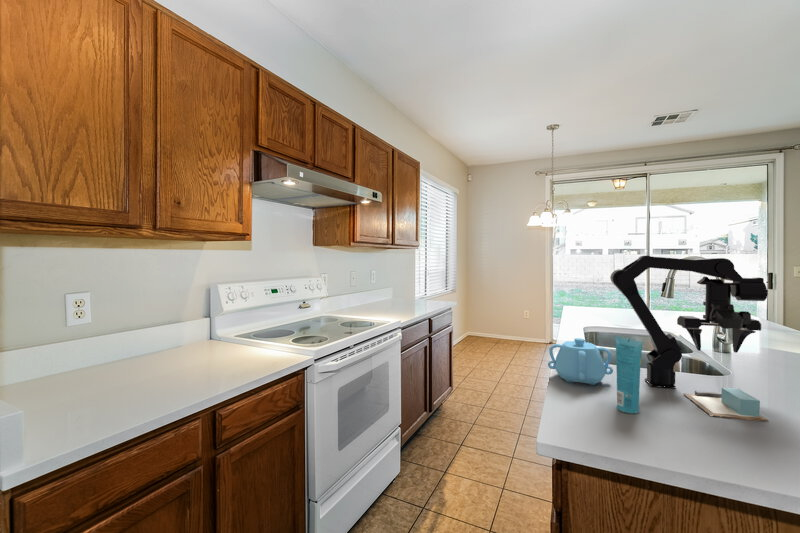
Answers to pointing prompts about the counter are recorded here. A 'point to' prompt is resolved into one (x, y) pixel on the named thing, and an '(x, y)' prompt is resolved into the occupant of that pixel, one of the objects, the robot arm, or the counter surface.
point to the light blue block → (740, 402)
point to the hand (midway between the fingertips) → (716, 351)
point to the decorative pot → (580, 362)
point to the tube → (628, 373)
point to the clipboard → (718, 406)
